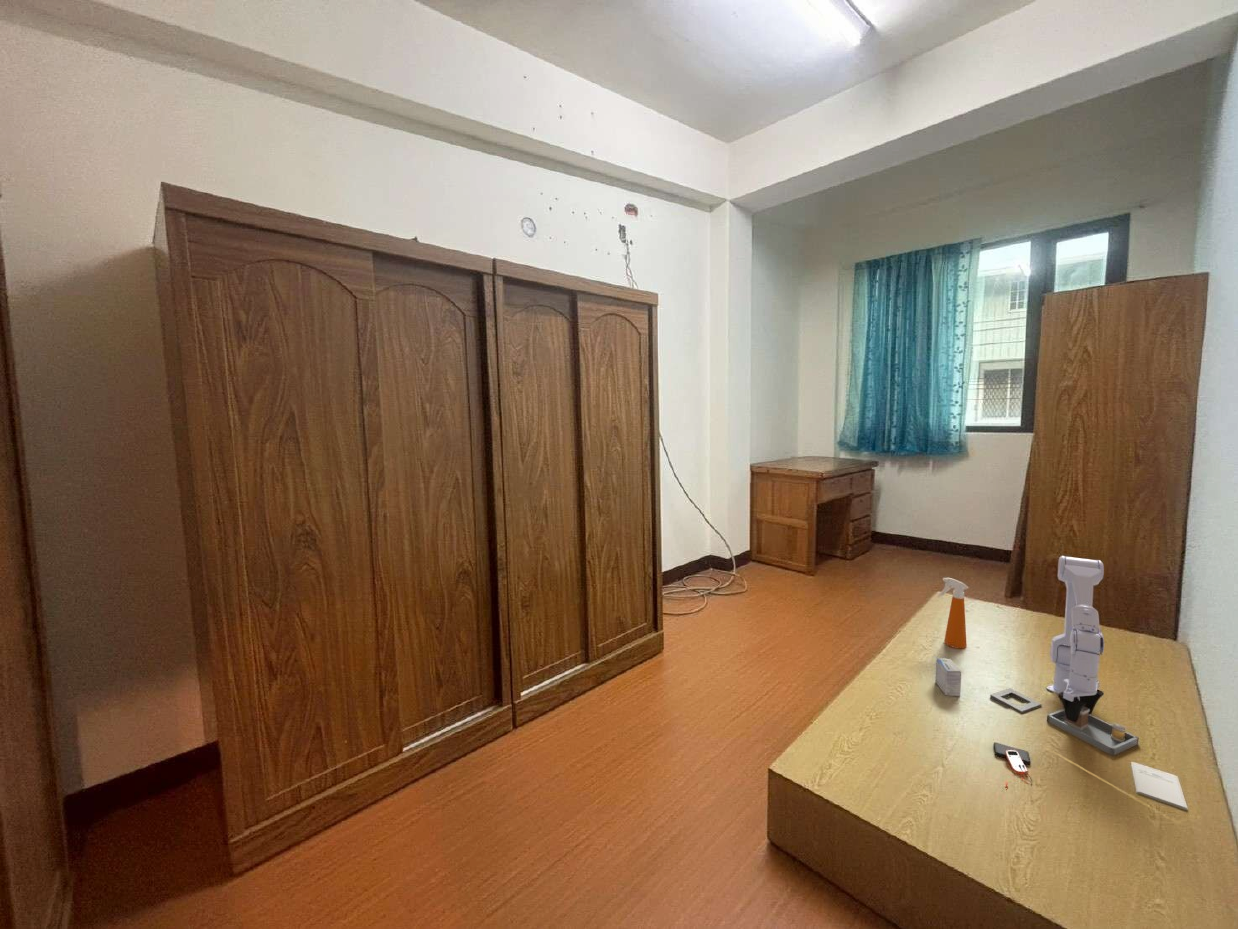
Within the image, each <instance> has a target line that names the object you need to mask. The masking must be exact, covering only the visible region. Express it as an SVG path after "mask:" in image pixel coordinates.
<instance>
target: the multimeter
mask: <svg viewBox="0 0 1238 929" xmlns="http://www.w3.org/2000/svg"><path fill="white" fill-rule="evenodd" d="M993 750H994V751H993V753H994V756H995V757H997V758H1001V759H1004V760H1005V759H1006V760H1007V762H1008V764H1009V765H1010V768H1011V770H1012V771H1013V772H1014V773H1015V774H1017V775H1021V778H1022V780H1023V781H1024V782H1025V783H1027V784H1028V785H1030V786H1031V788H1032V786H1033V780H1032V778H1031V776H1030V774H1029V773H1028V772H1029V770H1028V768H1027V767H1026V766H1028V767H1029V766H1031V764H1032V763H1031V762H1032V761H1031V757H1030V753H1029V752H1028V750H1024V749H1021V748H1018V747H1014V746H1013V747H1012V746H1010V745H1006V744H1002V743H999V742H993ZM1023 775H1024V776H1025V775H1028V777H1029V778H1030V780H1031V783H1029V782H1027V781H1026V780H1024V778H1023ZM1005 784H1006V785H1005V789H1008V788H1009V786H1008V781H1006V783H1005Z"/></svg>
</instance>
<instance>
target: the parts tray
mask: <svg viewBox="0 0 1238 929" xmlns="http://www.w3.org/2000/svg"><path fill="white" fill-rule="evenodd" d="M1065 720H1066V714H1065V709H1064V708H1062V709H1059V710H1056V711H1054V712H1052V713H1049V714H1047V716H1046V722H1047V723H1050V724H1052V725H1053V726H1055V727H1057V728H1059V729H1061V730H1063V731H1064V732H1066V733H1068V734H1070V735H1072V736H1074V737H1076V738H1078V739H1079V740H1081V741H1084V742H1085V743H1088V744H1089V745H1091V746H1093V747H1095V748H1097V749H1099V750H1101V751H1102V752H1104V753H1107V754H1108V755H1111V756H1112V757H1113V756H1116V755H1118V754H1121V753H1122V752H1124V751H1127V750H1129V749H1132V748H1133V747H1136V746H1138V745H1139V737H1138V736H1136V735H1134V734H1132V733H1129V732H1128V731H1125V736H1124V739H1125V740H1124V742H1122V743H1119V742H1116V741H1114V740H1113V739H1111V734H1112V724H1111V723H1109V722H1107V721H1105V720H1102V719H1101V718H1098V717H1097V716H1095V715H1092V714H1090V715H1089V714H1088V722H1087V724H1088V727H1086V728H1085V729H1083V730H1081V731H1080V730H1078V729H1076V728H1074V727H1072V726H1070V725H1068V724H1066V723H1065Z"/></svg>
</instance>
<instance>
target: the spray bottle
mask: <svg viewBox="0 0 1238 929" xmlns="http://www.w3.org/2000/svg"><path fill="white" fill-rule="evenodd" d="M942 581H943V582H945V583H944V587H943V589H942V591H940V592H939V594H938V595H937V596H936V597H937V598H940V597H942V596H944V595H945V594H946V593H948V591H950V590H952V589H953V591H952V597H951V601H950V602H951V603H950V609H949V613H948V618H947V619H948V620H947V624H946V630H945V634H944V640H943V641H944V644H946V645H947V646H949V647H950V648H951V647H952V648H953V649H954V648H955V649H965V648H967V646H968V645H967V630H966V628H967V627H966V626H967V625H966V608H965V592H964V590H967V589H970V587H969V586H968V585H967V584H965V583H964V582H962V581H959V580H957V579H954V578H951V577H948V576H947V577H942Z"/></svg>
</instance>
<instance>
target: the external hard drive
mask: <svg viewBox="0 0 1238 929" xmlns="http://www.w3.org/2000/svg"><path fill="white" fill-rule="evenodd" d="M1130 766H1131V772H1132V777H1133V781H1134V787H1135V792H1136V794H1138V795H1141V796H1143V797H1144V796H1145V797H1146V798H1149V799H1153V800H1155V801H1159V802H1161V803H1164V804H1166V805H1170V806H1171V807H1172V806H1173V807H1176V808H1178V809H1181V810H1184V811H1189V809H1188V805H1187V802H1186V799H1185V796H1184V793H1183V789H1182V785H1181V783H1180V779H1179V776H1178V775H1176V774H1172V773H1170V772H1169V773H1168V772H1166V771H1163V770H1159V769H1156V768H1154V767H1151V766H1146V765H1145V764H1141V763H1137V762H1135V761H1130Z"/></svg>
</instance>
